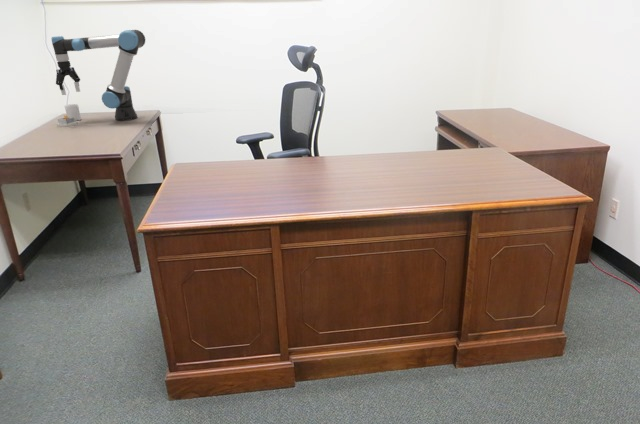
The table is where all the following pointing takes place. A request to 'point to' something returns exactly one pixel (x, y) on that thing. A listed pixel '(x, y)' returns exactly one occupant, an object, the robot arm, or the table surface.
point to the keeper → (67, 124)
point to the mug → (73, 111)
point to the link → (66, 121)
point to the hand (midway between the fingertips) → (71, 93)
